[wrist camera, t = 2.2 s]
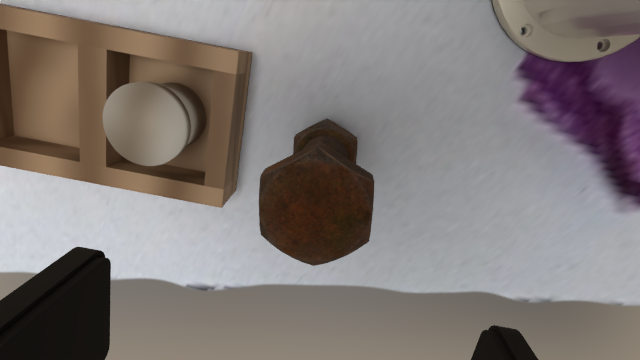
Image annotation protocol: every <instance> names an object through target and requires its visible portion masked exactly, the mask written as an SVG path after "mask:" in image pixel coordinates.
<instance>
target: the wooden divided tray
mask: <svg viewBox="0 0 640 360" xmlns="http://www.w3.org/2000/svg"><path fill="white" fill-rule="evenodd" d="M251 59H252V52H248V51H242V50H237V49H232V48H227V47H222V46H217V45H211V44H206V43H201V42H196V41H191V40H185V39H180V38H175V37H170V36H165V35H160V34H154V33H149V32H144V31H139V30H134V29H129V28H123V27H118V26H113V25H108V24H103V23H97V22H92V21H87V20H82V19H77V18H72V17H66V16H61V15H56V14H51V13H46V12H41V11H35V10H30V9H25V8H20V7H15V6H9V5H4V4H0V165H1V166H6V167H12V168H17V169H22V170H27V171H32V172H38V173H43V174H48V175H53V176H59V177H64V178H69V179H74V180H79V181H85V182H90V183H95V184H100V185H106V186H111V187H116V188H121V189H126V190H132V191H137V192H142V193H147V194H153V195H158V196H163V197H168V198H173V199H179V200H184V201H189V202H194V203H200V204H205V205H210V206H215V207H220V208H222V207H223V206H224V204H225V203H226V202H227V201H228V199H229V198H230V197H231V196H232V194H233V193H234V192H235V191H236V184H237V175H238V167H239V159H240V150H241V142H242V134H243V125H244V117H245V109H246V100H247V92H248V84H249V75H250V67H251Z"/></svg>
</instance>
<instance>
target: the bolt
mask: <svg viewBox="0 0 640 360" xmlns="http://www.w3.org/2000/svg"><path fill="white" fill-rule="evenodd" d="M356 155H357V137H355V136H354V135H352V134H351V133H350V132H348V131H347V130H345V129H344V128H342V127H341V126H339V125H338V124H336V123H334V122H332V121H331V120H329V119H325V120H323V121H321V122H318V123H316V124H314V125H312V126H310V127H309V128H307V129H305V130H303V131H301V132H300V133H298V134H296V136H295V137H294V152H293V155H291V156H290V157H288V158H286V159H284V160H282V161H280V162H278V163H276V164H274V165H272V166H270V167H268V168H266V169H265V170H264V171H263V173H262V174H261V178H260V189H259V218H260V230H261V235H262V236H263V237H264V238H265V239H266V240H267V241H269V242H270V243H271V244H272V245H273V246H275V247H276V248H277V249H279V250H280V251H282V252H283V253H285V254H287V255H289V256H291V257H292V258H294V259H297V260H299V261H301V262H304V263H307V264H310V265H313V266H314V265H319V264H324V263H328V262H331V261H334V260H336V259H339V258H341V257H344V256H346V255H348V254H350V253H352V252H353V251H355V250H357V249H358V248H360V247H361V246H363V245H364V244H366V243H367V242H369V237H370V232H371V222H372V212H373V199H374V179H373V175H372V174H371V173H369V172H367V171H366V170H364V169H363V168H361V167H360V166H358V165H356Z"/></svg>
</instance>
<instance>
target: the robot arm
mask: <svg viewBox="0 0 640 360" xmlns="http://www.w3.org/2000/svg"><path fill="white" fill-rule="evenodd" d="M492 2H493V7H494V10H495V13H496V15H497V17H498V20H499V22H500V24H501V26H502V27H503V29H504V30H505V31H506V33H507V34H508V36H509V37H510V38H511V39H512V40H513V41H514V42H515V43H516V44H518V45H519V46H520V47H521V48H522V49H524V50H526V51H528V52H529V53H531V54H533V55H535V56H538V57H541V58H544V59H547V60H551V61H562V62H582V61H587V60H593V59H598V58H601V57H604V56H607V55H609V54H612V53H614V52H617V51H619V50H621V49H622V48H624V47H626V46H628V45H629V44H631V43H633V42H634V41H636V40H637V39H638V38H640V0H492ZM521 28H524V33H523V34H522V35H521V33H520V31H521ZM597 44H599V45H598V48H597ZM110 270H111V264H110V260H109V259H108V258H105V255H104V253H103V252H102V251H99V250H94V249H88V248H83V247H76V248H74V249H72V250H71V251H69V252H68V253H66V254H65V255H64V256H62V257H61V258H59V259H58V260H57V261H55V262H54V263H52V264H51V265H50V266H48V267H47V268H45V269H44V270H43V271H41V272H40V273H38V274H37V275H35V276H34V277H33V278H31V279H30V280H28V281H27V282H26V283H24V284H23V285H21V286H20V287H19V288H17V289H16V290H14V291H13V292H12V293H10V294H9V295H8V296H6V297H5V298H3V299H2V300H0V360H105V358H106V356H107V353H108V350H109V344H110V343H109V342H110V338H109V337H110ZM471 360H538V359H537V357H536V356H535V354H534V353H533V351H532V350H531V348H530V346H529V345H528V344H527V342H526V340H525V339H524V337H523V336H522V334H521V333H520V332H519V331H518V330H516V329H511V328H505V327H500V326H495V325H494V326H491V327H490V328H489V330H484V331H483V332H482V333H481V335H480V338H479V341H478V343H477V346H476V348H475V351H474V353H473V356H472V359H471Z"/></svg>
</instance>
